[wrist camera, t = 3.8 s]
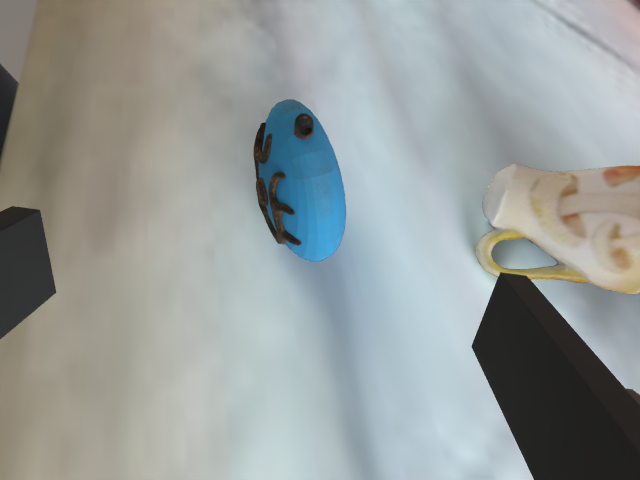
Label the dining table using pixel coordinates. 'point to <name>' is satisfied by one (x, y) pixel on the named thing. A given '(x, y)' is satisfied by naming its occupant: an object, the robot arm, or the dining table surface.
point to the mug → (569, 223)
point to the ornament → (299, 182)
